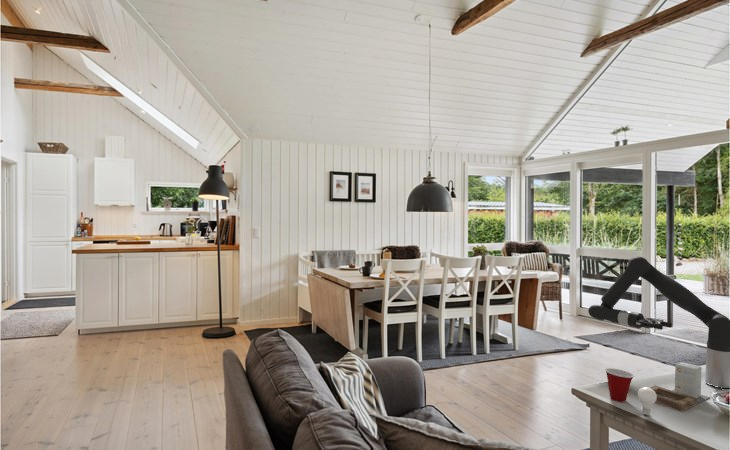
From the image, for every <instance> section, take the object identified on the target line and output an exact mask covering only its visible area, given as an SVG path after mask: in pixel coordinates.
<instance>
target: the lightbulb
mask: <svg viewBox="0 0 730 450" xmlns="http://www.w3.org/2000/svg"><path fill="white" fill-rule="evenodd" d="M657 395H658V394H657ZM657 395H656V393H655V391H654V390H653V389H651V388H650V387H649V386H648V387H647V386H642V387H640V388H639V389H638V391H637V398H638V399H639V401H640V403H641V406H642V414H643V413H644V414H646V415H649V416H651V413H652V411H651V410H652V408H653V405H654V404H655V403H656V400H657ZM644 414H643V415H644ZM646 415H645V416H646Z"/></svg>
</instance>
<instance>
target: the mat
mask: <svg viewBox="0 0 730 450" xmlns="http://www.w3.org/2000/svg"><path fill="white" fill-rule="evenodd" d="M672 391H675V388H674V389H672ZM708 398H710V399H711V397H710V396H707V395H704V394H701V396H700V397H698V398H697V404H700V403H703V402H705V401H708V400H709V399H708ZM697 404H696V405H697Z"/></svg>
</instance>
